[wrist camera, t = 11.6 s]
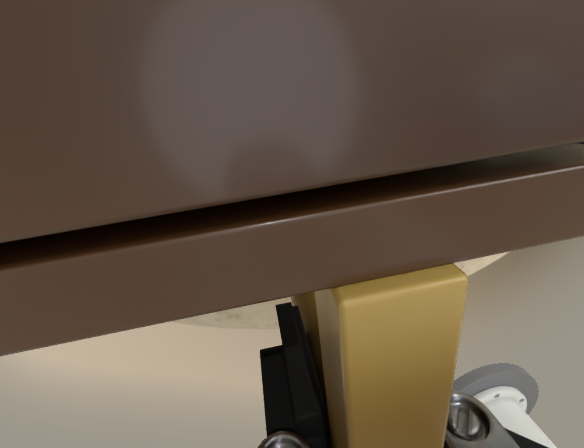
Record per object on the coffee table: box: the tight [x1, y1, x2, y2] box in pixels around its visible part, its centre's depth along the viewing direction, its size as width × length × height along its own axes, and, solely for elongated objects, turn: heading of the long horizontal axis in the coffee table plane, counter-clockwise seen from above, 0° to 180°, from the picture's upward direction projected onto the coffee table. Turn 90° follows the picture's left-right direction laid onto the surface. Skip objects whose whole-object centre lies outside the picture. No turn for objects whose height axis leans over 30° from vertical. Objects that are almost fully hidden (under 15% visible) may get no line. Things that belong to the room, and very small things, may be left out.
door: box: [0, 143, 584, 448], centre depth 14 cm, size 8×26×24 cm, turn 97°
